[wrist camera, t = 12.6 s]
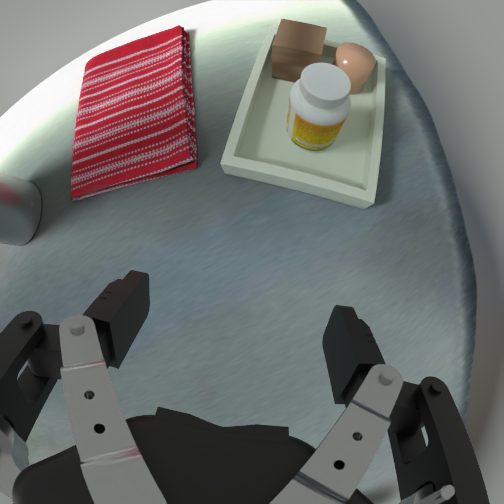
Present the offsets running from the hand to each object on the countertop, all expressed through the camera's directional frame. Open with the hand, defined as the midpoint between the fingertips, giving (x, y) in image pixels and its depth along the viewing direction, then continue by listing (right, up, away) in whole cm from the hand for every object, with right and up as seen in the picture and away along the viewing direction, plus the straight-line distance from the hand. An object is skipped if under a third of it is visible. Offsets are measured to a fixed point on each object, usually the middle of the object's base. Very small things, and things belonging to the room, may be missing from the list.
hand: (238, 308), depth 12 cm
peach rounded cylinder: (+12, +23, +16) cm, 30 cm away
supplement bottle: (+7, +15, +16) cm, 23 cm away
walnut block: (+6, +24, +17) cm, 30 cm away
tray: (+8, +18, +17) cm, 26 cm away
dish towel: (-15, +21, +19) cm, 32 cm away
